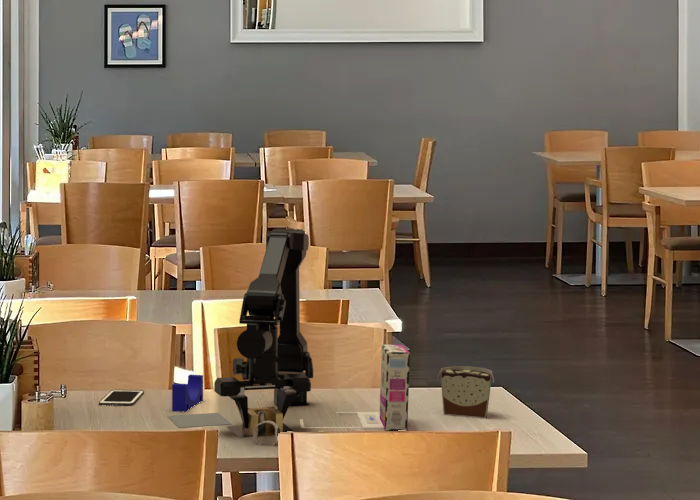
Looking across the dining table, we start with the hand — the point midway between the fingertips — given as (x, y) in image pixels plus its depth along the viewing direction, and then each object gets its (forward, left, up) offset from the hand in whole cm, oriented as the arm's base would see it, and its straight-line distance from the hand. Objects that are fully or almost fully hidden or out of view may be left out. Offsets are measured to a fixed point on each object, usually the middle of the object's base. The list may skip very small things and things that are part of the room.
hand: (262, 427), depth 252 cm
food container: (-48, -4, -2) cm, 48 cm away
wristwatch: (+2, +11, -2) cm, 11 cm away
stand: (0, 0, -1) cm, 1 cm away
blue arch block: (+9, -30, -2) cm, 31 cm away
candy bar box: (-28, +2, -2) cm, 28 cm away
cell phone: (+21, -40, -2) cm, 46 cm away
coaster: (+10, -12, -1) cm, 16 cm away
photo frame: (-19, -5, -2) cm, 20 cm away
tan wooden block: (0, 0, -1) cm, 1 cm away
